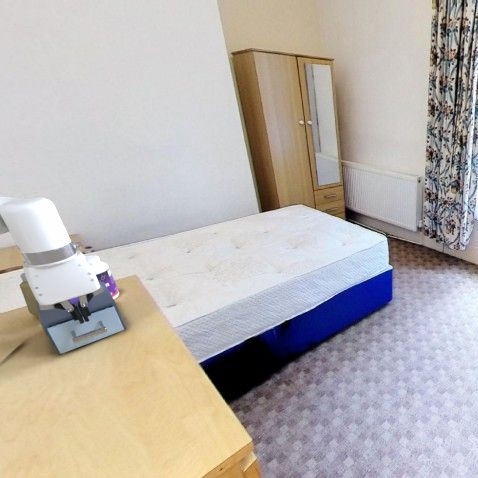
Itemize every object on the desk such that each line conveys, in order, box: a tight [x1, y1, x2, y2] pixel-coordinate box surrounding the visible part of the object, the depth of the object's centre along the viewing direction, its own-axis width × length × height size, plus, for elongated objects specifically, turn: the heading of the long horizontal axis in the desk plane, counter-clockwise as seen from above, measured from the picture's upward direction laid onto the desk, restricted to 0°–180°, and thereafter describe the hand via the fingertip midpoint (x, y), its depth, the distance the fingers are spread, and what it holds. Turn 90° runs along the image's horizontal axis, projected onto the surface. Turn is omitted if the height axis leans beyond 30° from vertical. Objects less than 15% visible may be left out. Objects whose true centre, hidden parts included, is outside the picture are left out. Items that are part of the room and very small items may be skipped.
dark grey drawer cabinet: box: [36, 282, 127, 356], centre depth 87 cm, size 15×13×9 cm
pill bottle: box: [84, 254, 120, 300], centre depth 98 cm, size 8×8×14 cm
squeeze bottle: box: [19, 260, 40, 320], centre depth 90 cm, size 8×8×18 cm
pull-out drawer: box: [47, 306, 124, 355], centre depth 84 cm, size 19×12×7 cm, turn 51°
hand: (84, 320), depth 78 cm, fingers closed
